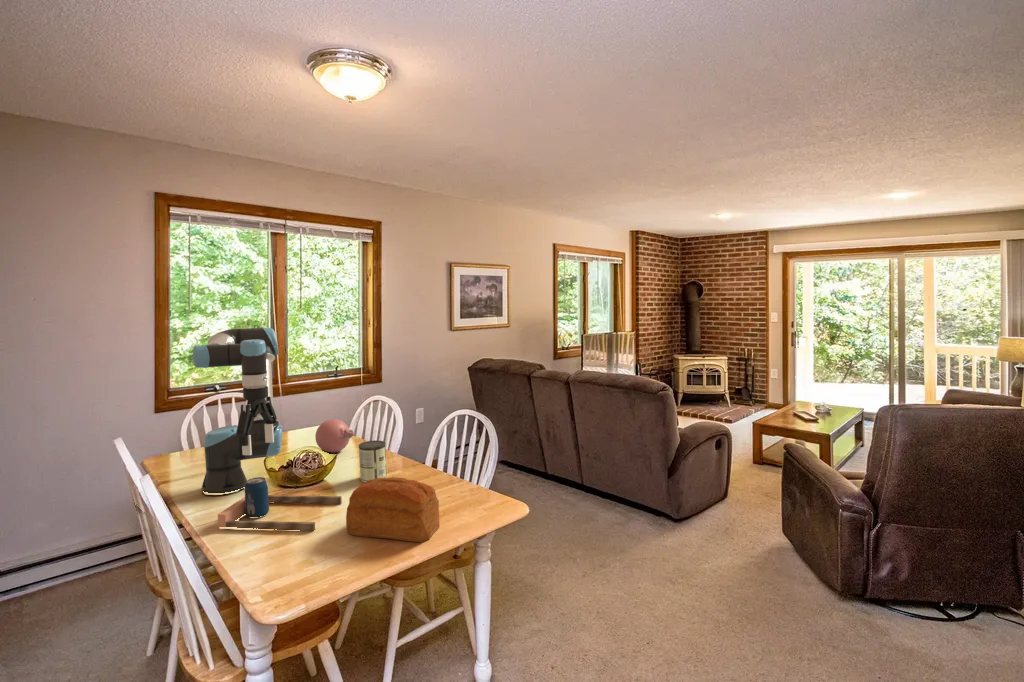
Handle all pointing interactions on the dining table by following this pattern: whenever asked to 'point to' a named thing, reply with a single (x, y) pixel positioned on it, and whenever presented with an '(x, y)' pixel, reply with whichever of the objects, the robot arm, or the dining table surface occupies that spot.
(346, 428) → the pink party balloon
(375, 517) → the bread
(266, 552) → the dining table surface
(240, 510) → the end stop
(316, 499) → the walnut lane
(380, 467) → the coffee can
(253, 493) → the soda can
